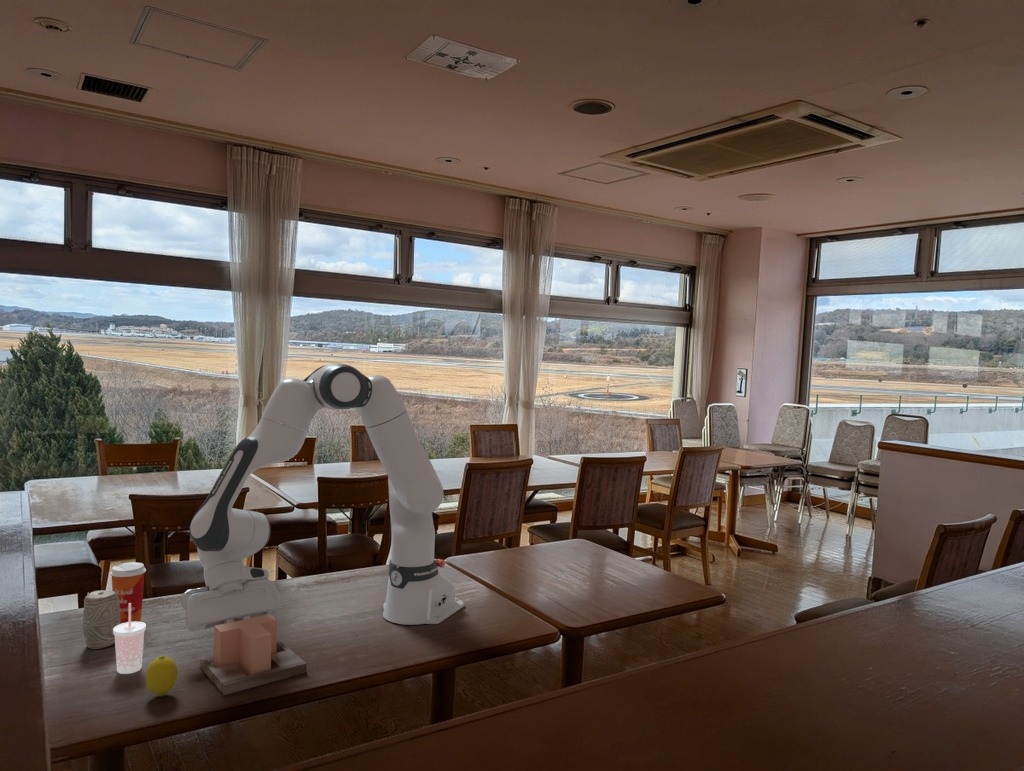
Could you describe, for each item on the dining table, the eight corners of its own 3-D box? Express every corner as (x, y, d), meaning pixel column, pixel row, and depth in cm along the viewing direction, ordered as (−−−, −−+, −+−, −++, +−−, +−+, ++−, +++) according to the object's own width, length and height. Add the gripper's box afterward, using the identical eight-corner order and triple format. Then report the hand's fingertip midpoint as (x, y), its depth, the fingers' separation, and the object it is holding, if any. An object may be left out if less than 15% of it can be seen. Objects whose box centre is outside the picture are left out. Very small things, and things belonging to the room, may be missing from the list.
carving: (77, 646, 161) (77, 593, 161) (112, 636, 167) (112, 585, 167) (89, 654, 157) (90, 600, 157) (125, 644, 163) (125, 592, 163)
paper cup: (102, 626, 173) (102, 568, 172) (129, 615, 180) (129, 559, 179) (126, 631, 170) (127, 573, 169) (153, 620, 177) (153, 564, 177)
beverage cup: (147, 671, 151) (147, 605, 150) (114, 678, 147) (114, 610, 147) (144, 660, 156) (144, 596, 155) (111, 666, 152) (111, 601, 152)
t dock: (200, 667, 153) (200, 658, 153) (278, 648, 164) (278, 639, 164) (224, 695, 142) (224, 685, 142) (306, 672, 153) (306, 663, 153)
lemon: (152, 689, 143) (153, 649, 143) (181, 689, 144) (182, 649, 143) (140, 703, 138) (141, 662, 137) (170, 702, 138) (171, 662, 138)
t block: (213, 667, 154) (214, 625, 153) (269, 653, 161) (269, 613, 161) (231, 687, 145) (232, 643, 145) (289, 671, 153) (289, 630, 152)
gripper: (182, 584, 156) (195, 644, 149) (274, 568, 169) (290, 622, 163) (175, 598, 160) (188, 657, 153) (266, 581, 173) (282, 635, 166)
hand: (242, 639), depth 158 cm, fingers closed
